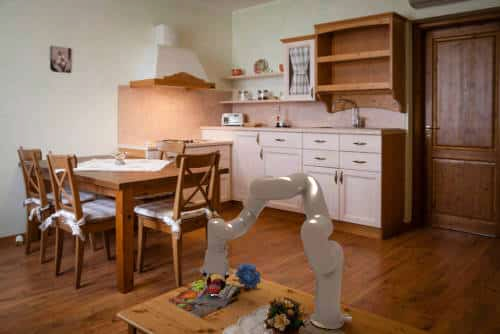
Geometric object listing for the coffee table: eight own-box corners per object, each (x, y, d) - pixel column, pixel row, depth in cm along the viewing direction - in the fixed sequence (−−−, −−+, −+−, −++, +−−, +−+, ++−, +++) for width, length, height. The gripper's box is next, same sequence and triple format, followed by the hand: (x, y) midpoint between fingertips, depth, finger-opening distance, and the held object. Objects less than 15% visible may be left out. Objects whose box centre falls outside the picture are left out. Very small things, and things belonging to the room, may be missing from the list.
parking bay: (237, 287, 198) (237, 282, 198) (224, 307, 178) (224, 301, 178) (207, 284, 201) (207, 279, 201) (192, 303, 181) (192, 298, 180)
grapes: (233, 291, 194) (234, 265, 192) (235, 285, 201) (236, 260, 199) (259, 293, 193) (260, 266, 191) (261, 287, 199) (261, 261, 198)
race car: (216, 296, 182) (216, 287, 181) (204, 295, 184) (204, 285, 183) (227, 284, 194) (227, 276, 194) (216, 283, 196) (216, 274, 196)
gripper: (237, 246, 189) (237, 286, 191) (200, 243, 192) (200, 282, 194) (233, 251, 181) (233, 293, 184) (194, 248, 185) (194, 289, 187)
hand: (216, 287), depth 189 cm, fingers closed on race car, 5 cm apart
